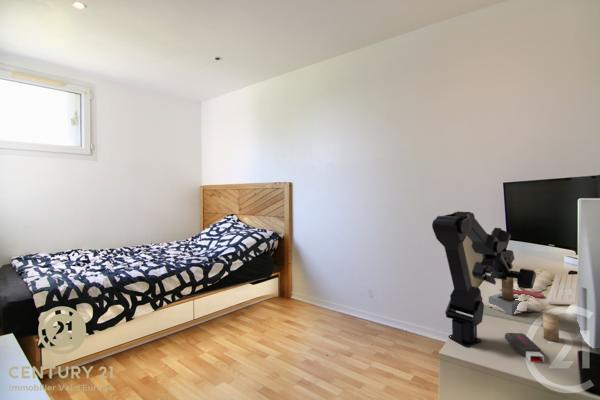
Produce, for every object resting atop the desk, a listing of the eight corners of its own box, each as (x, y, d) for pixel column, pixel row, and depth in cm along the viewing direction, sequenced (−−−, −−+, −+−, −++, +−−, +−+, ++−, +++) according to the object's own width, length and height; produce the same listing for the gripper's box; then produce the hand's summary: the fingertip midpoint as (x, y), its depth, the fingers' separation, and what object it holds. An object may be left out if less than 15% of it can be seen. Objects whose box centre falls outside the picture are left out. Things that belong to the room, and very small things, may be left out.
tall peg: (512, 311, 110) (511, 275, 109) (501, 309, 112) (500, 274, 111) (514, 308, 112) (514, 273, 111) (503, 306, 114) (503, 272, 114)
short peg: (553, 343, 88) (553, 319, 88) (540, 337, 91) (540, 314, 91) (562, 340, 89) (561, 316, 89) (548, 335, 93) (548, 312, 92)
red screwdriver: (500, 285, 132) (544, 293, 122) (500, 289, 132) (544, 297, 122) (497, 288, 129) (543, 296, 119) (497, 292, 129) (543, 301, 119)
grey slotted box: (511, 315, 107) (511, 304, 106) (488, 307, 114) (488, 296, 114) (527, 310, 110) (527, 299, 109) (504, 302, 118) (504, 292, 117)
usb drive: (524, 340, 91) (523, 331, 91) (548, 363, 79) (548, 353, 79) (504, 339, 92) (504, 330, 92) (525, 362, 80) (525, 352, 80)
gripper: (533, 246, 101) (545, 272, 108) (474, 240, 116) (487, 263, 123) (525, 275, 97) (538, 300, 104) (464, 265, 112) (479, 287, 119)
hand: (509, 286), depth 112 cm, fingers open, 9 cm apart
